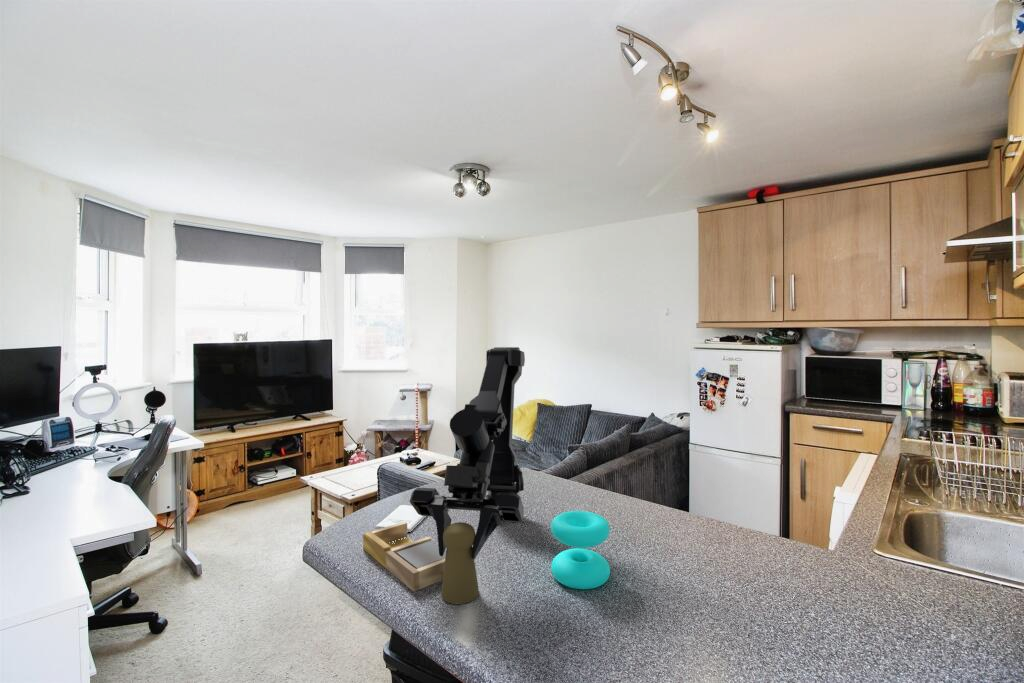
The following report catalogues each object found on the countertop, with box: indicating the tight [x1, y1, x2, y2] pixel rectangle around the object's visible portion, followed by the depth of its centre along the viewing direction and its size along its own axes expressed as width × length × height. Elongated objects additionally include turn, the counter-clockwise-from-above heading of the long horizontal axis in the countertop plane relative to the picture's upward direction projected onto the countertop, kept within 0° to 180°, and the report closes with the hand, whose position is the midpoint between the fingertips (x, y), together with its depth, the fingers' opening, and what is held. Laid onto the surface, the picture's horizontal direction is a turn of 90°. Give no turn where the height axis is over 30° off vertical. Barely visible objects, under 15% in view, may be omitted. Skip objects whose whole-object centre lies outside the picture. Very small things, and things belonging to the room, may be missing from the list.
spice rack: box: [362, 522, 446, 592], centre depth 87 cm, size 9×20×4 cm, turn 40°
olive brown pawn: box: [440, 521, 480, 605], centre depth 75 cm, size 6×6×11 cm
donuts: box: [550, 510, 611, 590], centre depth 80 cm, size 10×10×10 cm
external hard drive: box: [374, 504, 425, 533], centre depth 106 cm, size 2×8×12 cm
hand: (456, 556), depth 74 cm, fingers closed on olive brown pawn, 5 cm apart
